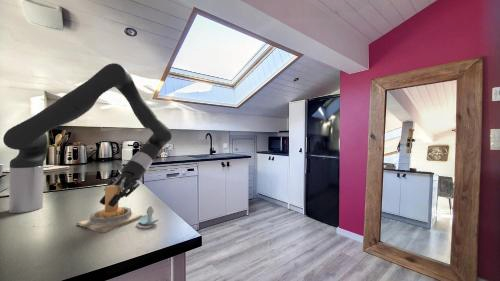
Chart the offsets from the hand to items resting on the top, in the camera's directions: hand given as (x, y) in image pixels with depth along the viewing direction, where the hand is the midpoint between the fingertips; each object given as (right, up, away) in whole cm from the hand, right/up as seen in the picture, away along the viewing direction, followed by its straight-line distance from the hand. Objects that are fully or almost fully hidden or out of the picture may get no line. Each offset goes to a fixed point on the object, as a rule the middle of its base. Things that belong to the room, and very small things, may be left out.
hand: (106, 204), depth 72 cm
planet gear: (+1, -4, +2) cm, 5 cm away
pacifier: (+14, -7, -1) cm, 16 cm away
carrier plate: (+1, -7, +2) cm, 7 cm away
